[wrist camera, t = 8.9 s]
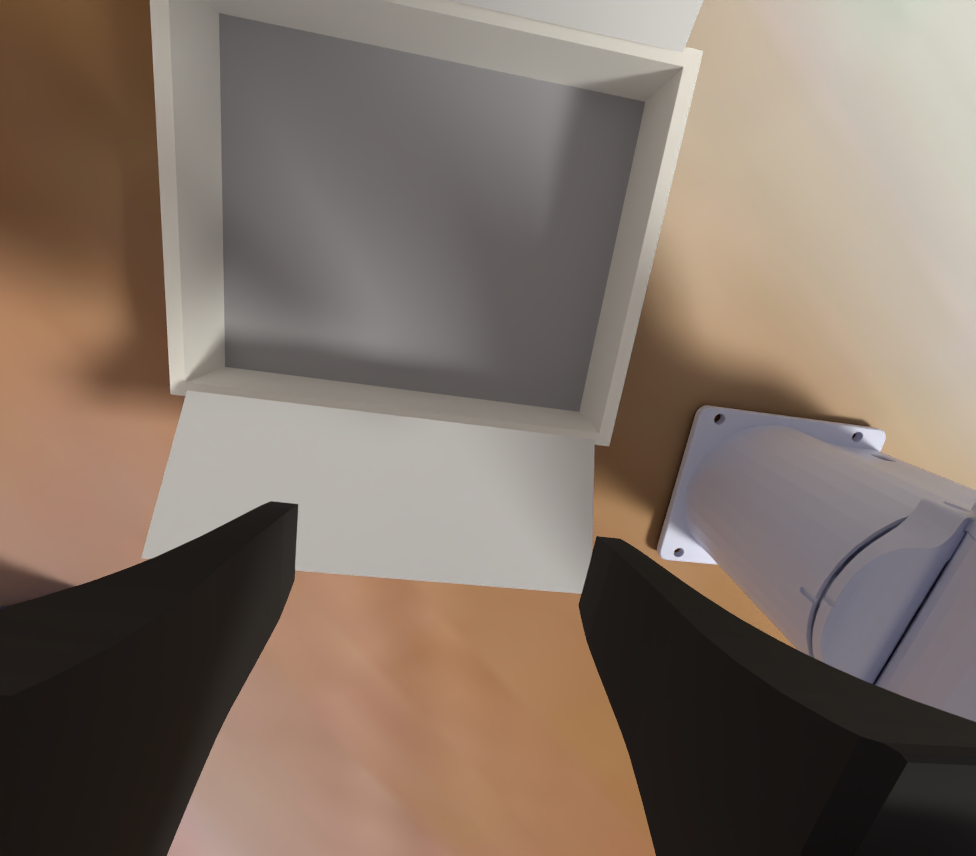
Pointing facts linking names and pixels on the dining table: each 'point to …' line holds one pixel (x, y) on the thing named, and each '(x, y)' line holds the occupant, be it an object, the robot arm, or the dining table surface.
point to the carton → (410, 206)
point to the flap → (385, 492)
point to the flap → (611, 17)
